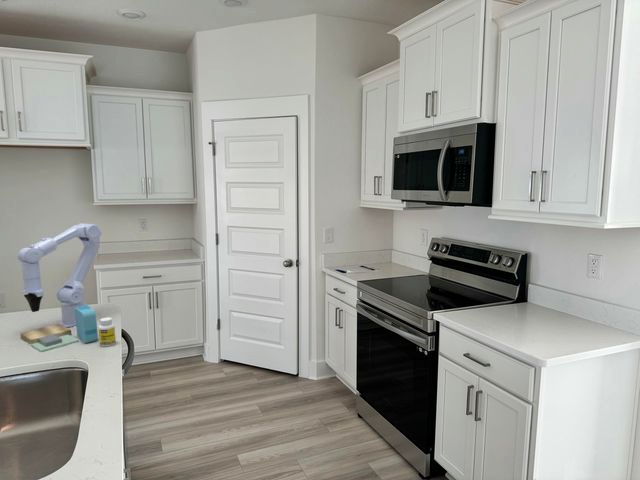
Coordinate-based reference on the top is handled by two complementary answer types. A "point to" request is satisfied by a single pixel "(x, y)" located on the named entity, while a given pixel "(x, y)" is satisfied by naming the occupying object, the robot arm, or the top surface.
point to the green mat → (65, 341)
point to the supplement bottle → (106, 332)
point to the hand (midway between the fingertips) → (35, 311)
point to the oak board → (44, 333)
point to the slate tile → (49, 340)
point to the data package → (86, 324)
